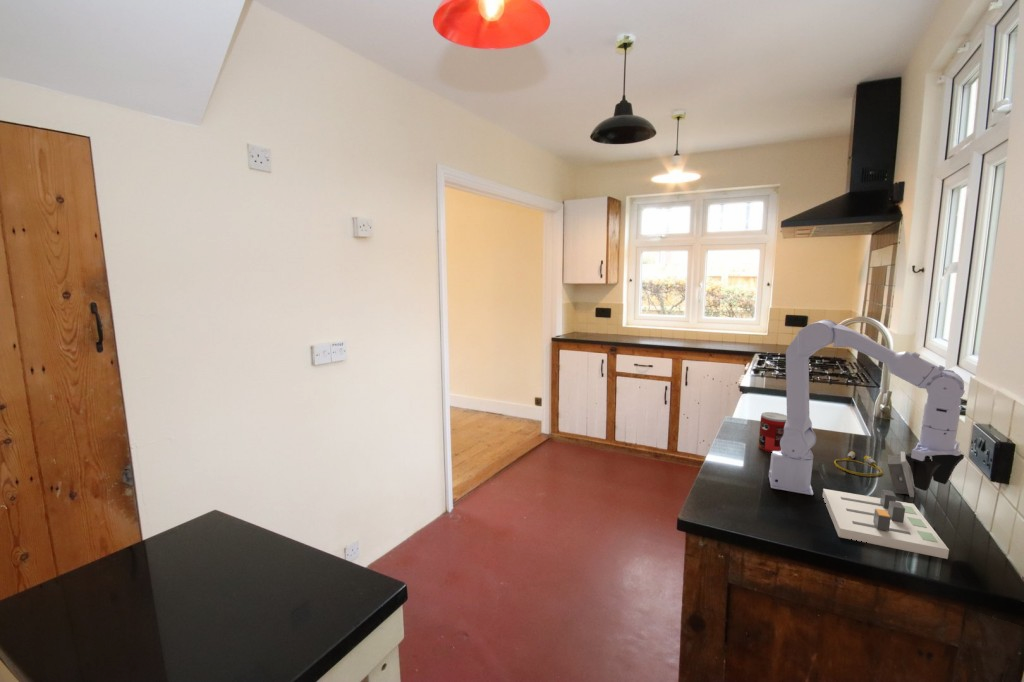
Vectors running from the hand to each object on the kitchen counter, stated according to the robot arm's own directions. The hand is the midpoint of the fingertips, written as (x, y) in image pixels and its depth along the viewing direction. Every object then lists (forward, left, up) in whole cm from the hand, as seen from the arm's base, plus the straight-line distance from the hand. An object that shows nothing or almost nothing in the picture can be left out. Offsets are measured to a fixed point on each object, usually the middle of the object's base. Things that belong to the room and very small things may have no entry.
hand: (930, 485), depth 104 cm
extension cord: (-6, +32, -10) cm, 34 cm away
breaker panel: (-10, -4, -9) cm, 14 cm away
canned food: (-28, +36, -10) cm, 46 cm away
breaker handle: (-11, -10, -7) cm, 16 cm away
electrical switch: (0, +19, -10) cm, 21 cm away
